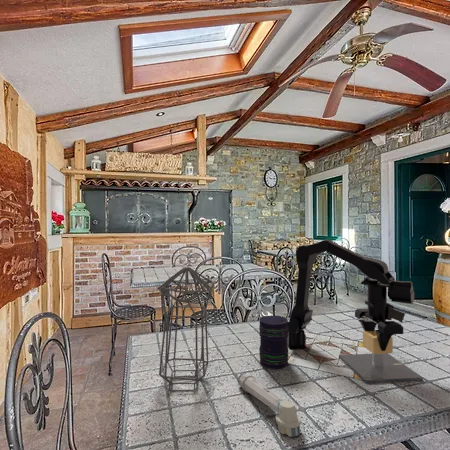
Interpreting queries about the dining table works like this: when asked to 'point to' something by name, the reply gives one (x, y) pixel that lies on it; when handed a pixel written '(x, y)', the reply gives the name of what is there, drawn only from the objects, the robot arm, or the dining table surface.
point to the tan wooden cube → (375, 343)
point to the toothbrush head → (273, 405)
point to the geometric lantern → (209, 289)
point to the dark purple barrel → (273, 342)
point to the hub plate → (379, 368)
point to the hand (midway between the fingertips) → (377, 346)
